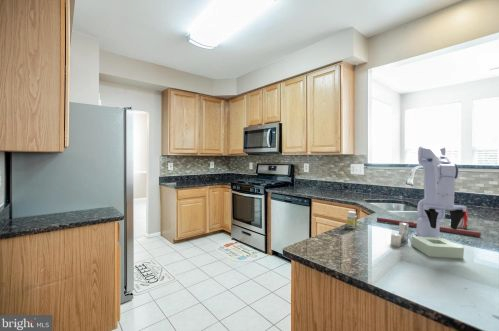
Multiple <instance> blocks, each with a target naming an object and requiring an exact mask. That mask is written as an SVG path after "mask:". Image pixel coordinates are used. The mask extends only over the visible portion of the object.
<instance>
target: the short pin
mask: <svg viewBox="0 0 499 331" xmlns="http://www.w3.org/2000/svg"><path fill="white" fill-rule="evenodd" d="M401 243H402V242H401V235H399V233H391V234H390V246H392V245H393V247H398V248H399V247H401V246H402V244H401Z"/></svg>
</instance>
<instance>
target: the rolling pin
mask: <svg viewBox="0 0 499 331" xmlns="http://www.w3.org/2000/svg"><path fill="white" fill-rule="evenodd" d="M376 221H377V222H381V223H386V222H387V224H395V225H399V223H407V224H409V228H417V222H414V221H411V220H409V221H406V220H405V221H404V220H399V219H398V220H397V219H393V218H392V219H391V218H386V217H377V218H376ZM439 232H445V233H447V232H448V233H453V234H458V235H459V234H461V235H466V236H473V237H477V238H478V237H481V235H482V233H481V232H480V231H474V230H468V229H463V228H457V229H453V228H451V227H446V226H441V225H440V231H439Z"/></svg>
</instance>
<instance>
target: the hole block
mask: <svg viewBox="0 0 499 331" xmlns="http://www.w3.org/2000/svg"><path fill="white" fill-rule="evenodd" d="M411 246H412V247H414V248H415V249H417V250H418V251H420V252H421V253H423V254H424V255H425V256H427V257H429V258H430V257H433V258H448V259H450V258H451V259H461V260H462V259H463V260H464V252H465V248H464V247H463V246H460V245H458V244H456V243H454V242H452V241H450V240H448V239H445V238H444V237H439V238H438V237H420V236H418V235H415V236H414V235H412V236H411Z"/></svg>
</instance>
